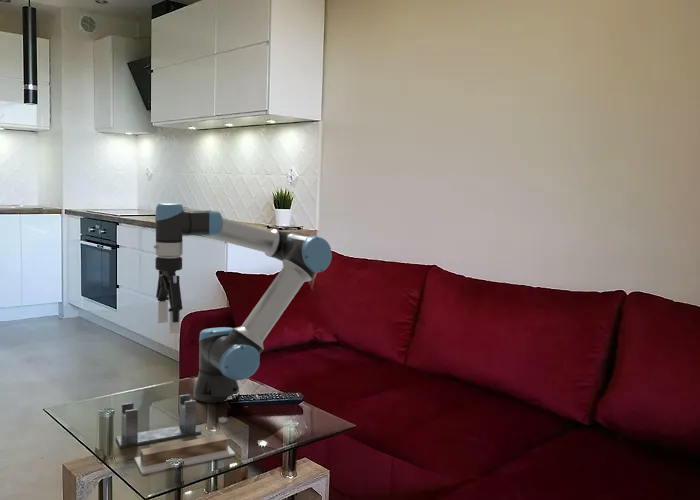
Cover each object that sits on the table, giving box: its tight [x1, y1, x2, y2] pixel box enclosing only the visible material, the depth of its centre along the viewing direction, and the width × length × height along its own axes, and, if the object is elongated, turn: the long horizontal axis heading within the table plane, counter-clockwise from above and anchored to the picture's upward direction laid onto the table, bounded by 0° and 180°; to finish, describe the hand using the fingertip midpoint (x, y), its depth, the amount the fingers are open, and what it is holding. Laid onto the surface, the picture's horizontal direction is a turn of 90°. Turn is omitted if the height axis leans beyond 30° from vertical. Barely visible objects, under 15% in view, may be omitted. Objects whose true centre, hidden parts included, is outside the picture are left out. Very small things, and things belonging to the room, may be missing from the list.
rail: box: [139, 433, 229, 467], centre depth 159 cm, size 22×4×3 cm, turn 121°
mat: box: [134, 445, 236, 475], centre depth 160 cm, size 24×9×1 cm, turn 121°
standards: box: [115, 393, 202, 449], centre depth 171 cm, size 22×6×10 cm, turn 121°
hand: (168, 327), depth 180 cm, fingers open, 13 cm apart
